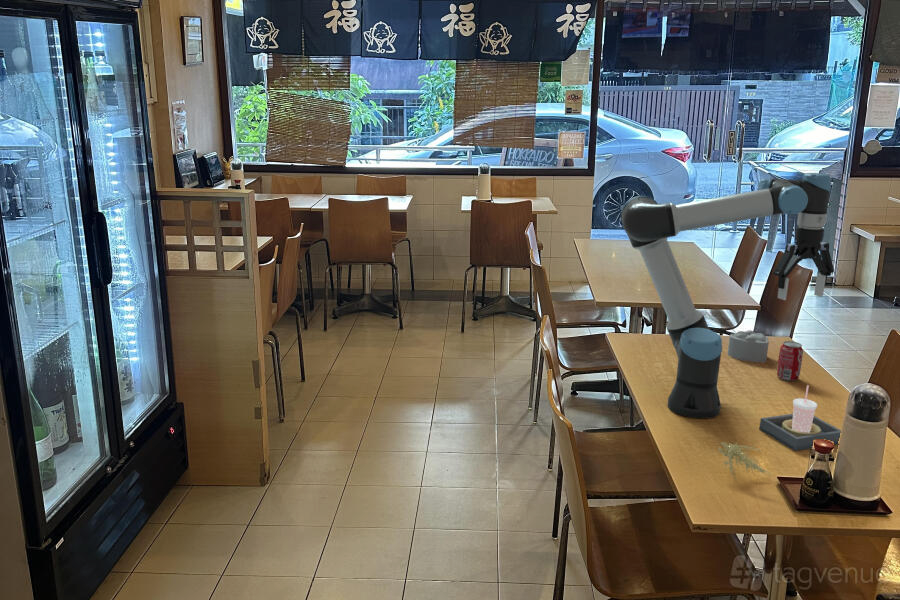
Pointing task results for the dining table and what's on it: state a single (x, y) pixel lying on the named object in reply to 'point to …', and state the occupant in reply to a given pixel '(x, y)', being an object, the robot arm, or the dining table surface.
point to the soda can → (790, 361)
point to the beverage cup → (803, 414)
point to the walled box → (798, 440)
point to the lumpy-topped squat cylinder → (748, 346)
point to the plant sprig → (740, 457)
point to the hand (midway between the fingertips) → (800, 297)
